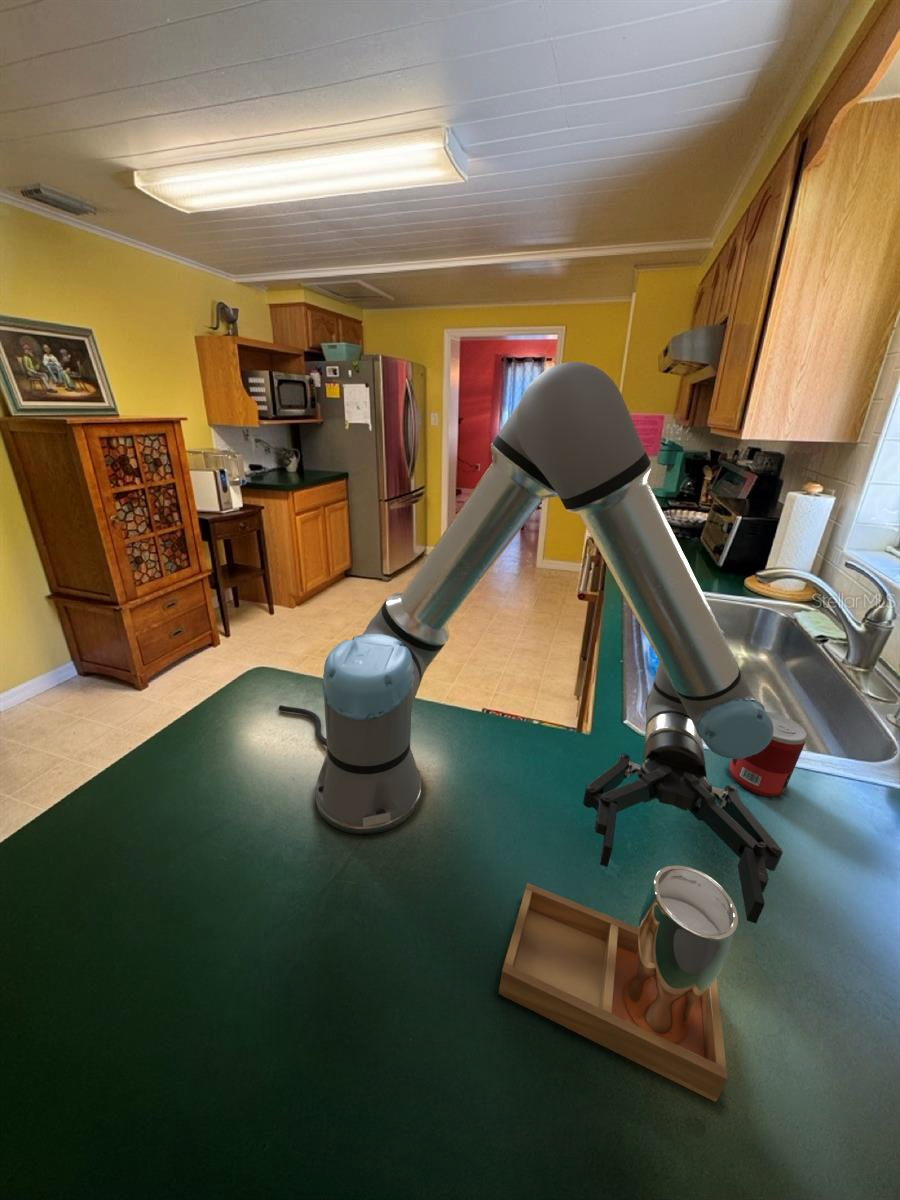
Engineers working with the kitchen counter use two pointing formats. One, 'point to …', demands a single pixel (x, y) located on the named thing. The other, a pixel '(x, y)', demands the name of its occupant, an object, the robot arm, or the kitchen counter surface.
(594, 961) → the tray
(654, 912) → the metal tumbler cup
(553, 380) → the robot arm
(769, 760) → the canned food
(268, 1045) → the kitchen counter surface
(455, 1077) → the kitchen counter surface
